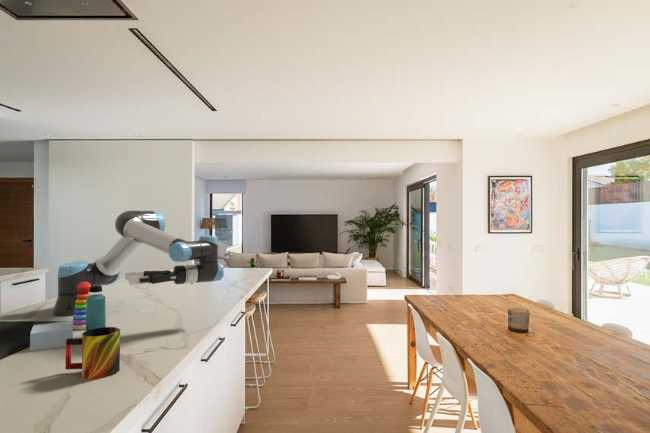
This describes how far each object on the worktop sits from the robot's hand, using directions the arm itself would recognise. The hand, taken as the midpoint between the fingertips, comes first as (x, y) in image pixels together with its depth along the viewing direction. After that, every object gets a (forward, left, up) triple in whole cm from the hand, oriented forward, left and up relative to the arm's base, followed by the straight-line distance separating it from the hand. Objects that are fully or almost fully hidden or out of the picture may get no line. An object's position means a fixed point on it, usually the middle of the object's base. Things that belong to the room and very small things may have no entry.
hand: (127, 278), depth 150 cm
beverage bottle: (+8, -6, -22) cm, 24 cm away
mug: (+28, +24, -22) cm, 43 cm away
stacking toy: (+1, -26, -22) cm, 34 cm away
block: (+18, -15, -22) cm, 32 cm away
